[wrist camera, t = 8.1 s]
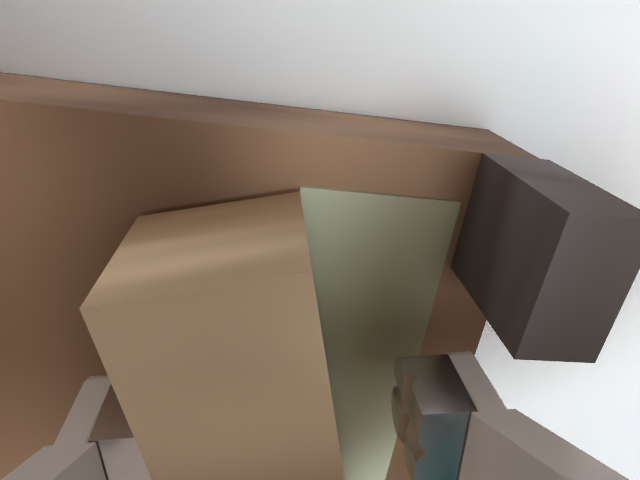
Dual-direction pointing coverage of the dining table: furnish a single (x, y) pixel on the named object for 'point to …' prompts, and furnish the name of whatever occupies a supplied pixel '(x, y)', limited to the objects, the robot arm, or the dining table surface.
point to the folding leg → (219, 344)
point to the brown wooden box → (322, 235)
